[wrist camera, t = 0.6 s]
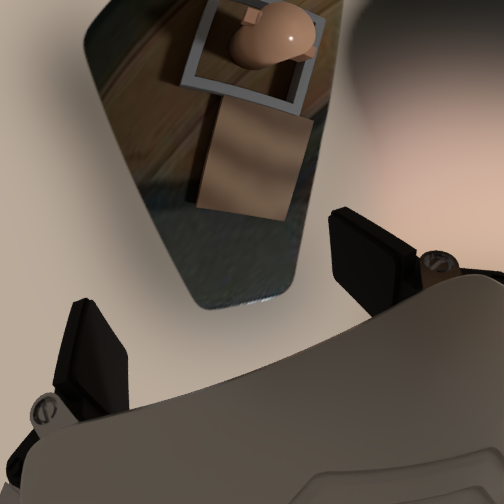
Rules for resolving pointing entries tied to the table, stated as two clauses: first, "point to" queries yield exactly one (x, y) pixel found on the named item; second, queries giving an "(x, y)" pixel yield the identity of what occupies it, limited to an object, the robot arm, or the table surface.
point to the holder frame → (218, 88)
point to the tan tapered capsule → (273, 36)
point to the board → (252, 159)
